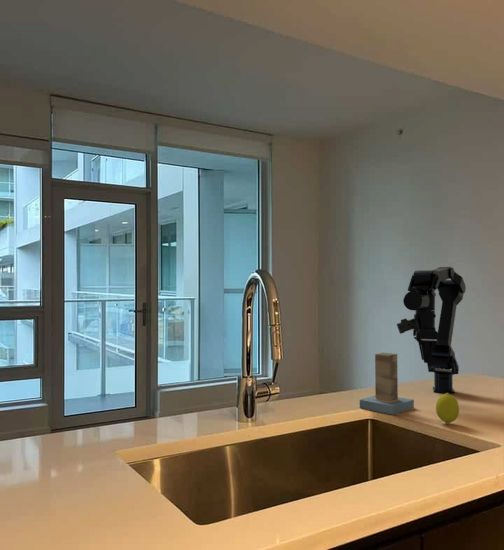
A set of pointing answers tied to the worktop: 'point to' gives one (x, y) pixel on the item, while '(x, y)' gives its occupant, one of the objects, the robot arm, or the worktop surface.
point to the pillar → (386, 376)
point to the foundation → (387, 405)
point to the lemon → (447, 408)
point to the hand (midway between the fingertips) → (424, 361)
